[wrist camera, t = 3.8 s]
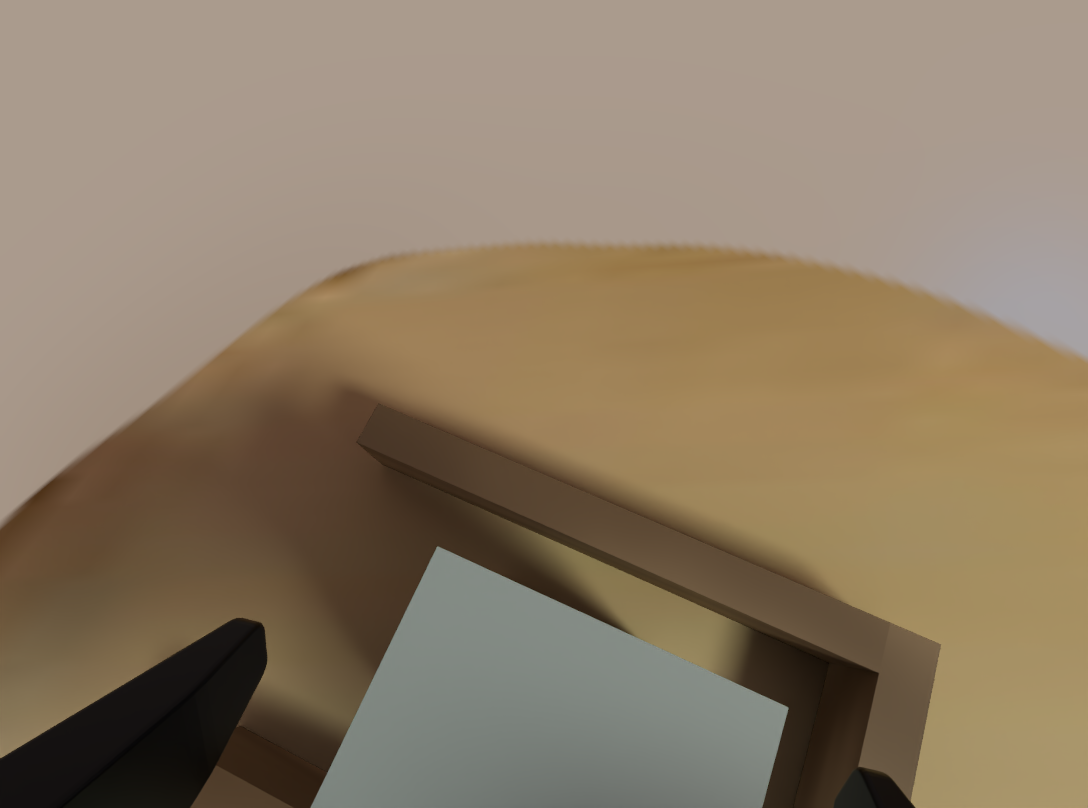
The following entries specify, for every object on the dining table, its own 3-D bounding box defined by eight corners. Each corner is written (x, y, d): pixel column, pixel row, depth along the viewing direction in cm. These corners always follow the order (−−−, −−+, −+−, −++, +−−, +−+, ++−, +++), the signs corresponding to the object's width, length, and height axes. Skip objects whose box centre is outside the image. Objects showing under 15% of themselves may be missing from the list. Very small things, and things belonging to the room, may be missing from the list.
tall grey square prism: (584, 823, 15) (653, 1215, 5) (427, 742, 15) (234, 964, 6) (646, 647, 16) (789, 708, 7) (499, 579, 17) (437, 545, 7)
